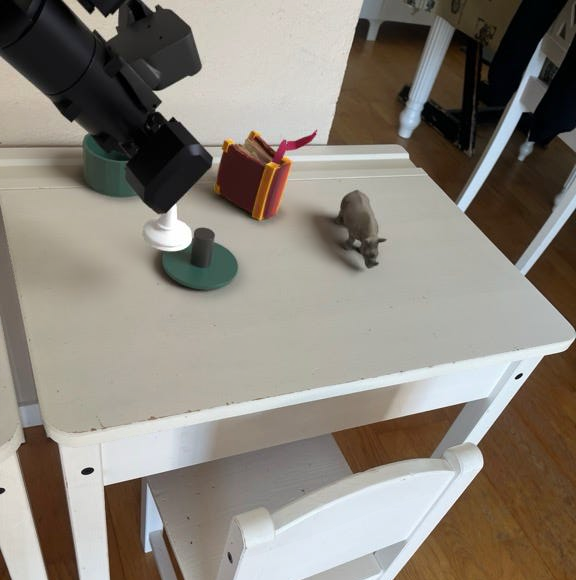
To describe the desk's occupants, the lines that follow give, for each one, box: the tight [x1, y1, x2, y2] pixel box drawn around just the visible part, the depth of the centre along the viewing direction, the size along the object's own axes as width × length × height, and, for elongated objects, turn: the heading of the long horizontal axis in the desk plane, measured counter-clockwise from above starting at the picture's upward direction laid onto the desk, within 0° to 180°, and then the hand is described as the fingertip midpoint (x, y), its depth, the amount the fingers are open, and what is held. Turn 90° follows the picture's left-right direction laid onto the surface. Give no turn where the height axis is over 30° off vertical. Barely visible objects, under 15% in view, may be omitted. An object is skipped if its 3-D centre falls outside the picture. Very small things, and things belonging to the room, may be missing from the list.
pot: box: [82, 132, 138, 198], centre depth 81 cm, size 8×8×5 cm
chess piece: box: [141, 203, 193, 252], centre depth 59 cm, size 5×5×10 cm
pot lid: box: [161, 227, 239, 291], centre depth 73 cm, size 9×9×5 cm
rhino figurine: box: [334, 189, 388, 269], centre depth 82 cm, size 4×14×6 cm, turn 11°
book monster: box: [213, 129, 319, 221], centre depth 84 cm, size 11×9×12 cm
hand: (185, 176), depth 59 cm, fingers closed on chess piece
